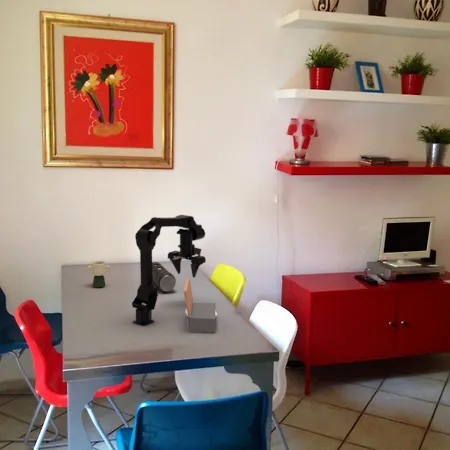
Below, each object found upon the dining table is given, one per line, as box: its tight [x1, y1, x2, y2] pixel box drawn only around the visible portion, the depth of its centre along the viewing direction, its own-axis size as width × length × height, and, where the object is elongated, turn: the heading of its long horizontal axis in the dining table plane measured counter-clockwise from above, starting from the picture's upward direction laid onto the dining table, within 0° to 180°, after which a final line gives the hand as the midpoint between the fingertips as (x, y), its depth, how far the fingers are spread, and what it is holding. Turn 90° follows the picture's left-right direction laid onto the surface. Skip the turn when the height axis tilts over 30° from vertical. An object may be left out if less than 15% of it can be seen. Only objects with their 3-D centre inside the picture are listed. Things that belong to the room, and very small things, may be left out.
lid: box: [183, 277, 194, 317], centre depth 222 cm, size 11×20×1 cm
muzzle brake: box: [152, 261, 177, 292], centre depth 276 cm, size 10×28×10 cm, turn 21°
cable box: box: [189, 302, 217, 334], centre depth 228 cm, size 10×29×6 cm, turn 0°
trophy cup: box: [87, 260, 110, 288], centre depth 272 cm, size 11×7×13 cm, turn 102°
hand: (186, 275), depth 243 cm, fingers open, 9 cm apart
